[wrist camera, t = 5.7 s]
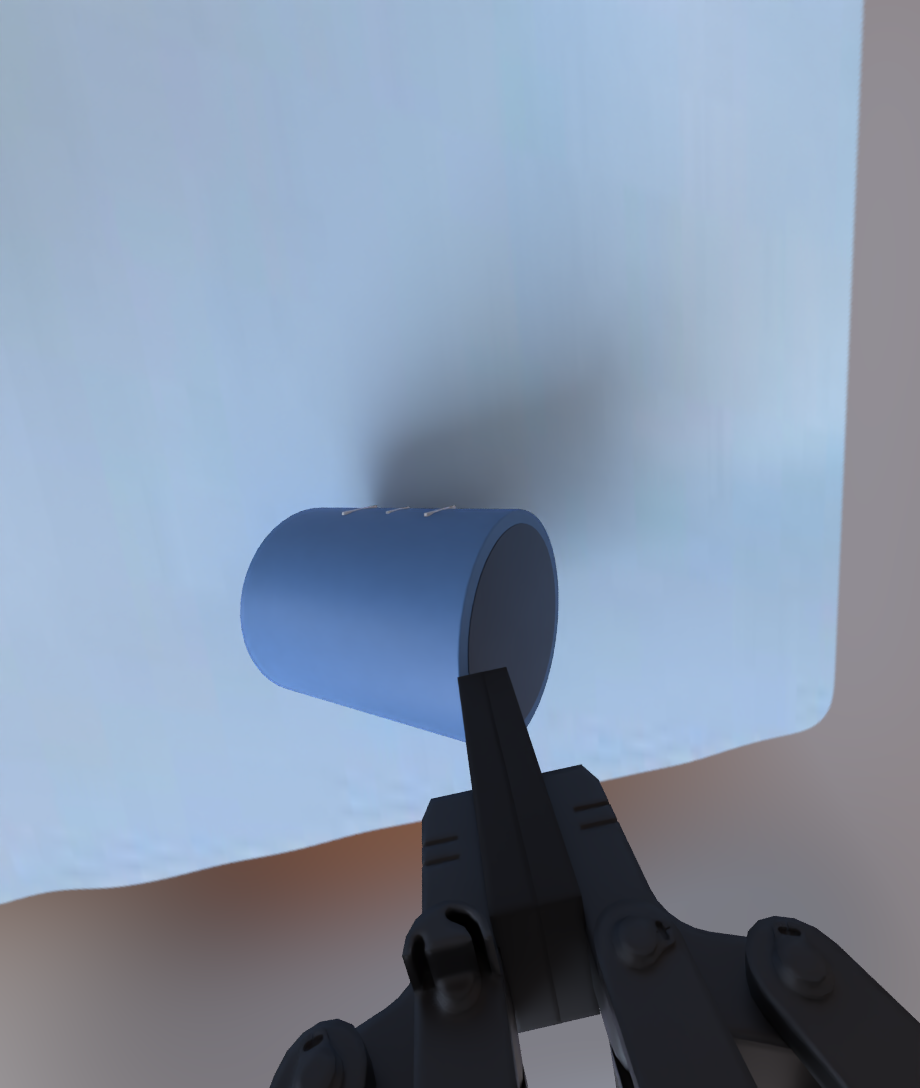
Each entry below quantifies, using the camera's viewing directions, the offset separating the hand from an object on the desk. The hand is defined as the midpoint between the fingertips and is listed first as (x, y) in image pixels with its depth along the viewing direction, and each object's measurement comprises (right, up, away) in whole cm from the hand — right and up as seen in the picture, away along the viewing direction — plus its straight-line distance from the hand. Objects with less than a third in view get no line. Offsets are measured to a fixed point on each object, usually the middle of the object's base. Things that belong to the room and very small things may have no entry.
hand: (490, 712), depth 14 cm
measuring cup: (-1, +3, +9) cm, 10 cm away
